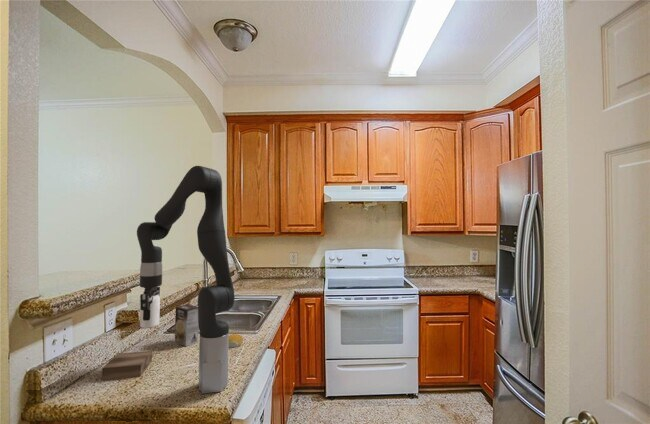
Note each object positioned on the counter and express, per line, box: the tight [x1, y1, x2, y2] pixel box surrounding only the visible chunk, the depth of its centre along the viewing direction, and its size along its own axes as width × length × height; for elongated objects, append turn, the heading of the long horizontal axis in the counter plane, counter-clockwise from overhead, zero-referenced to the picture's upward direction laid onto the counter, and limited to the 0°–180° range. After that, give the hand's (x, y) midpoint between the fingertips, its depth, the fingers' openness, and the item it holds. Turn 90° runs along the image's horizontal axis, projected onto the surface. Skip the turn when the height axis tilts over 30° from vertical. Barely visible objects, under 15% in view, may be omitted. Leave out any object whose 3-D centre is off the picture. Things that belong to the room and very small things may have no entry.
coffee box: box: [174, 303, 199, 347], centre depth 141 cm, size 9×6×16 cm
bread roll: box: [228, 333, 244, 349], centre depth 139 cm, size 8×9×4 cm
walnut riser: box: [101, 350, 153, 381], centre depth 114 cm, size 12×12×4 cm
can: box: [139, 293, 161, 329], centre depth 119 cm, size 6×6×12 cm
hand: (149, 317), depth 119 cm, fingers closed on can, 6 cm apart
